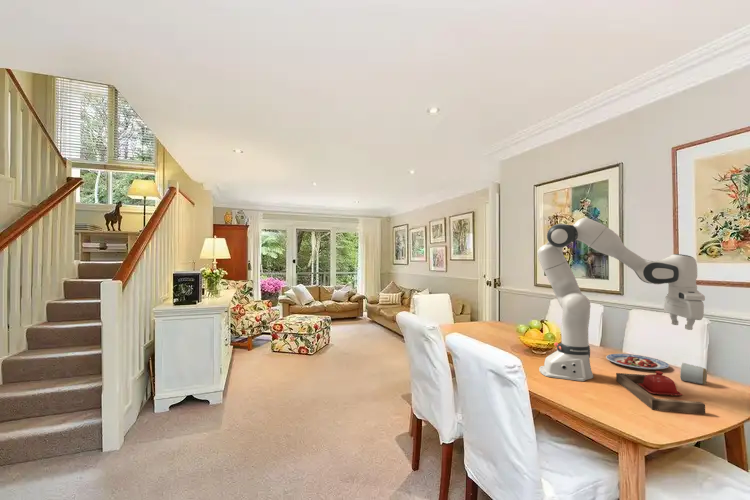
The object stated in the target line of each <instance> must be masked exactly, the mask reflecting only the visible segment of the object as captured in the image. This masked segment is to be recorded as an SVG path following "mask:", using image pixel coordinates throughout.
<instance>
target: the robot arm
mask: <svg viewBox="0 0 750 500" xmlns="http://www.w3.org/2000/svg"><path fill="white" fill-rule="evenodd" d="M546 239H547V242H546V243H545V244H542V245H541V246H540V247H539V248H538V250H537V252H536V253H537V257H538V261H539V263H540V266H541V268H542V270H543V272H544V274H545V276H546V278H547V280H548V282H549V283H550V286H551V289H552V291H553V292H554V296H555V297H556V299H557V302H558V303H559V306H560V307H561V309H562V319H561V326H560V327H561V328H560V329H561V334H560V335H561V341H560V342H559V343H558V342H554V344H553V345H554V346H555V348H556V349H557V350H556V351H554V352H553V353H551V354H549V355H548V356H546V357H545V359H544V365H541V366H539V368H538V369H539V371H538V372H539V373H540V374H541V375H543V376H545V377H547V378H554V379H555V378H556V379H563V380H569V381H570V380H571V381H578V382H585V381H588V380H591V379H593V378H594V375H593V371H592V367H591V362H590V358H591V347H590V345H589V325H590V317H591V302H590V300H589V298H588V297H587V296H586V295H585V294H583V293H582V291H581V289H580V286H579V285H578V281H577V280H576V276H575V274H574V272H573V270H572V268H571V267H570V264H569V263H568V261H567V259H566V257H565V255H564V251H563V250H564V248H565V247H567V246H569V245H570V244H572V243H574V242H575V241H579V242H582V243H583V244H584V245H586V246H587V247H589V248H591V249H593V250H594V251H596V252H598V253H600V254H603V255H606V256H609V257H611V258H614V259H616V260H618V261H619V262H621V263H622V264H624V265H625V266H627V267H628V268H630V269H631V270H633V271H634V272H635V274H636V276H637V278H639V279H640V280H641V282H644V283H647V284H649V285H650V284H653V285H662V284H668V287H667V289H668V290H667V291H668V293H666V296H665V298H664V304H663V310H664V312H665V313H668V314H669V317H670V320H671V325H673V326H679V320H678V316H679V317H682V318H683V319H684V318H685V319H686V321H687V322H686V324H685V326H684V329H685V330H687V331H692V330H693V329H694V327H693V326H694V325H695V322H696V321H702V320H703V318H704V310H705V309H704V308H705V305H704V302H703V301H705V300H706V296H705V295H704V294H702V293H701V292H700V291H699V290H698V285H697V278H698V264H697V260H696V258H695V257H693V256H691V255H688V254H681V253H672V254H670V255H669V256H667V257H664V258H661V259H659V260H658V259H657V260H655V261H653V260H649V259H648V260H647V259H645V258H643V257H642V256H640V255H638V254H637V253H635V251H632V250H630V249H629V248H628V247H626V246H625V244H624V243H623V241H622V238H621V237H620V236H619V235H618V234H617V233H616V232H615V231H614V230H612V229H611V228H610V227H608V226H606V225H604V224H602V223H600V222H599V221H596V220H594V219H591V218H589V217H581V218H579V219H577V221H575V223H573V224H565V223H556V224H554V225H552V226H551V227H550V228H549V229H548V230H547V234H546Z"/></svg>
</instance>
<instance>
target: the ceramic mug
mask: <svg viewBox="0 0 750 500" xmlns="http://www.w3.org/2000/svg"><path fill="white" fill-rule="evenodd" d="M679 373H680V375H679V377H680V378H679V379H680V380H681V381H684V382H688V383H693V384H698V385H705V384H706V383H707V379H708V370H707V369H706V368H705V367H702V366H698V365H694V364H689V363H686V362H682V363H681V364H680V371H679Z"/></svg>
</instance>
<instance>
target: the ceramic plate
mask: <svg viewBox="0 0 750 500" xmlns="http://www.w3.org/2000/svg"><path fill="white" fill-rule="evenodd" d="M605 359H606V360H608V361H610V362H612V363H615V364H617V365H621V366H622V367H626V368H629V369H630V368H631V369H635V370H636V369H637V370H642V369H644V370H645V371H653V370H665V369H667V368H669V367H670V364H669V363H668V362H666V361H664V360H661V359H658V358H654V357H650V356H645V355H639V354H632V353H630V354H629V353H609V354H607V355H606V356H605Z"/></svg>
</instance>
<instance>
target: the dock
mask: <svg viewBox="0 0 750 500" xmlns="http://www.w3.org/2000/svg"><path fill="white" fill-rule="evenodd" d="M646 375H647V374H638V373H636V374H635V373H621V372H616V374H615V378H616V380H615V381H616V382H617V383H619V384H620V385H621V386H622V387H623V388H624V389H626V390H627V391H628V392H630V393H631V394H632V395H633V396H635V397H636V398H637V399H638V400H640V401H641V402H642V403H644V405H646V407H648V408H650V409H651V410H653V411H661V412H662V411H663V412H672V413H673V412H674V413H686V414H697V415H706V404H705V403H704V402H702V401H693V400H681V399H672V398H671V399H668V398H656V397H654V396H653V395H652V394H651V393H650V392H648V391H647V390H646V389H644V388H643V387H642V386H640V385H639V383H643V382H644V377H645V376H646Z"/></svg>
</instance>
